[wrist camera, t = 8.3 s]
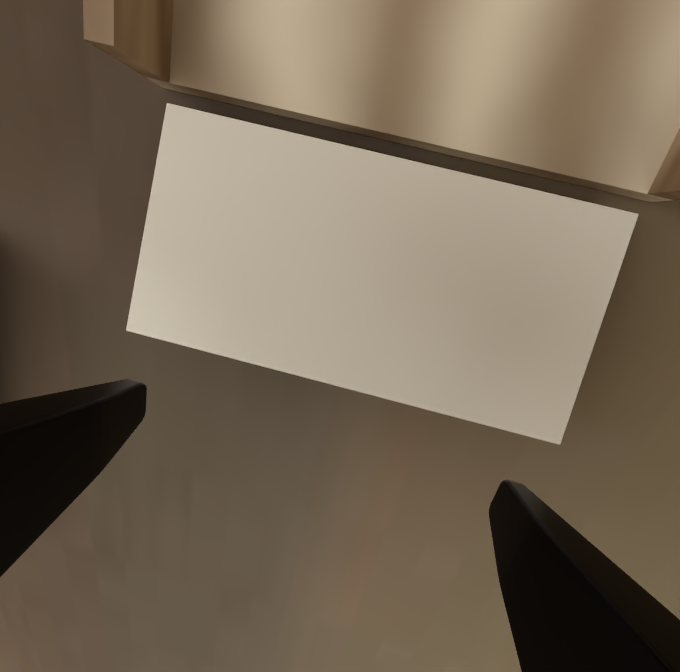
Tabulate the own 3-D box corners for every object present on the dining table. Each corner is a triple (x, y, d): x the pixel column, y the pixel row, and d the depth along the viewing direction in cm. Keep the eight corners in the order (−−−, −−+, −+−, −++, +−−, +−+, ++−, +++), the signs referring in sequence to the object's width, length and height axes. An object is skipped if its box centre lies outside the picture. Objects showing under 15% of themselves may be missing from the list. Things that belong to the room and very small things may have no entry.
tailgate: (638, 214, 12) (559, 444, 13) (605, 224, 14) (538, 428, 15) (167, 103, 13) (126, 330, 14) (189, 125, 15) (151, 327, 16)
